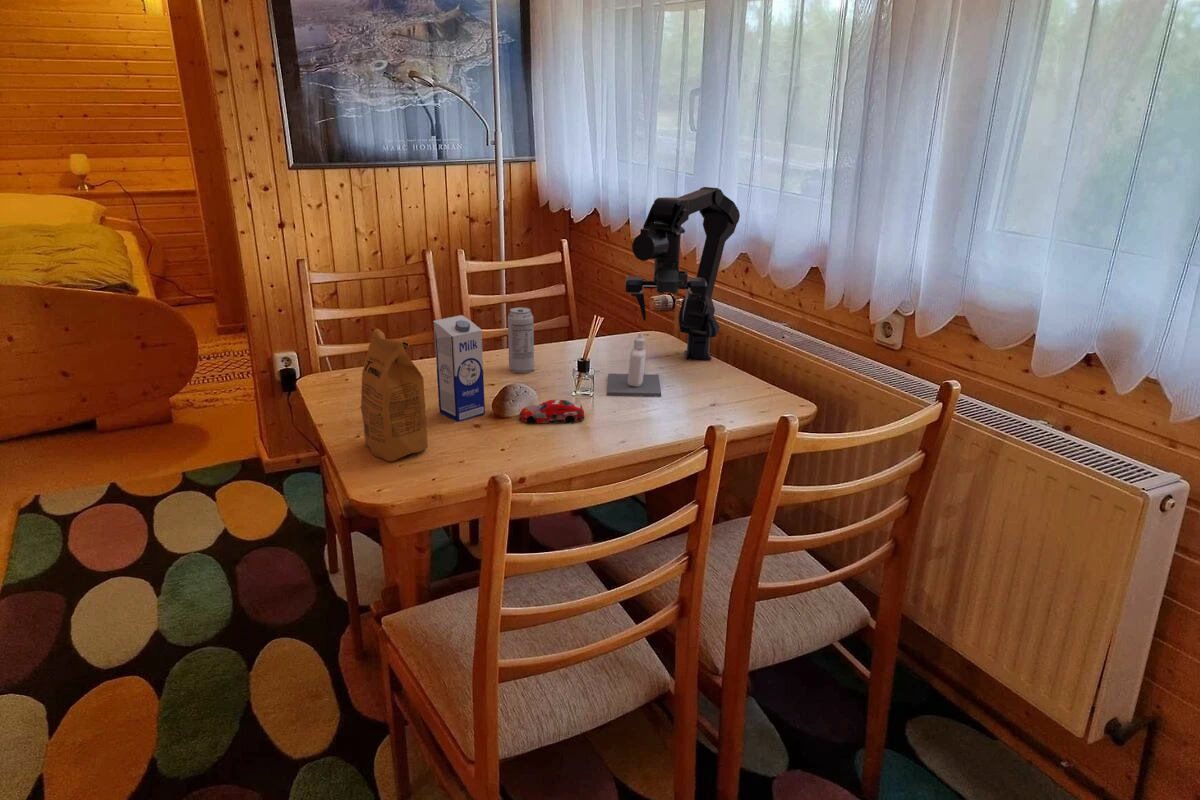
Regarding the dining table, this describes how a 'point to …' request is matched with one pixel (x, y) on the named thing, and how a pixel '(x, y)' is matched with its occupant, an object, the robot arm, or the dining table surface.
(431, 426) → the dining table surface
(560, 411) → the race car
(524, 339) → the energy drink can
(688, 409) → the dining table surface
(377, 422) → the coffee package
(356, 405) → the dining table surface
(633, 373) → the white bottle
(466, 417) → the milk carton
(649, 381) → the charcoal pad
